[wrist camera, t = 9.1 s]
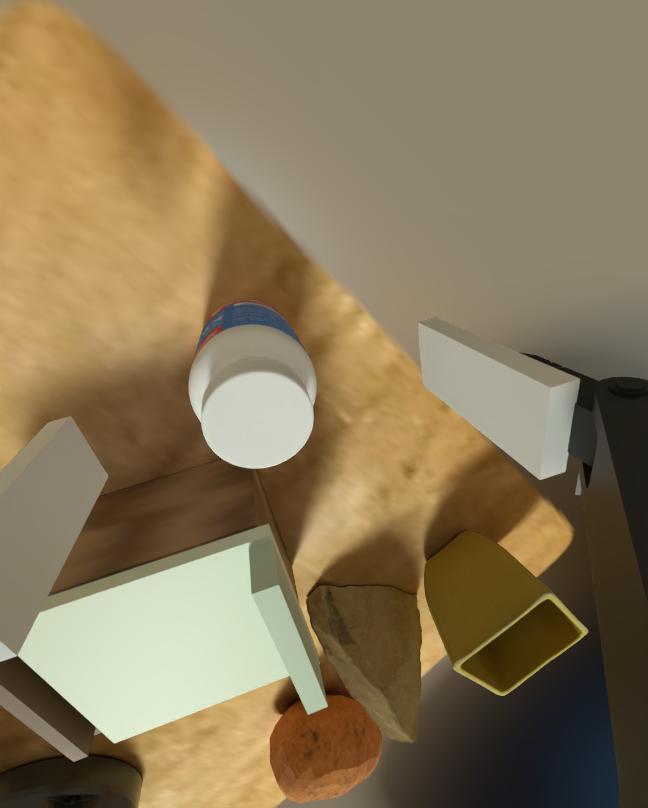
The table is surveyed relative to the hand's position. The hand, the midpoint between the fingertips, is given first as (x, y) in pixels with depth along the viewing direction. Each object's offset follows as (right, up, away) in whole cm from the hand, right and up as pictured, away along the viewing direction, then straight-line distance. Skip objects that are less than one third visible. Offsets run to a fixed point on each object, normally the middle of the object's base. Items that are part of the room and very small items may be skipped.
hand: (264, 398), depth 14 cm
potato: (+2, -33, +26) cm, 42 cm away
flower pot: (+15, -15, +21) cm, 30 cm away
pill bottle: (-2, +3, +8) cm, 9 cm away
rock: (+6, -18, +20) cm, 28 cm away
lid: (-5, -13, +6) cm, 16 cm away
